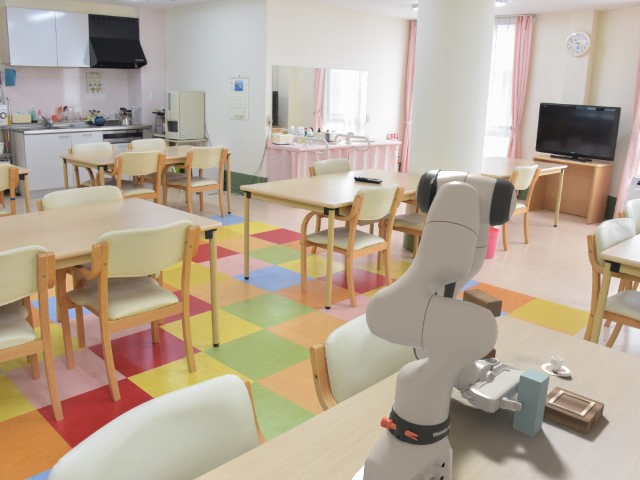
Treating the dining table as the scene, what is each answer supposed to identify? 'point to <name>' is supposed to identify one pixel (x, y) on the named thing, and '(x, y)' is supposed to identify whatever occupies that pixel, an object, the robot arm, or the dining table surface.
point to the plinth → (572, 409)
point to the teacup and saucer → (557, 367)
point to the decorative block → (486, 302)
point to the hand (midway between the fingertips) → (530, 400)
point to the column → (531, 401)
